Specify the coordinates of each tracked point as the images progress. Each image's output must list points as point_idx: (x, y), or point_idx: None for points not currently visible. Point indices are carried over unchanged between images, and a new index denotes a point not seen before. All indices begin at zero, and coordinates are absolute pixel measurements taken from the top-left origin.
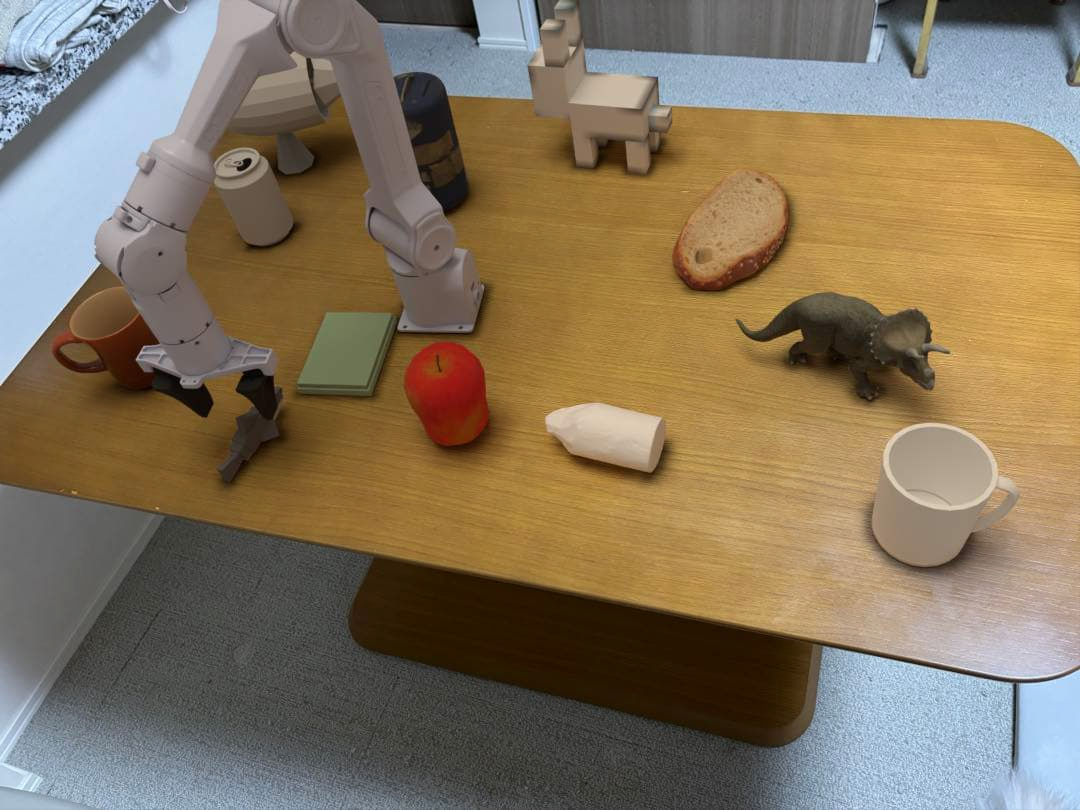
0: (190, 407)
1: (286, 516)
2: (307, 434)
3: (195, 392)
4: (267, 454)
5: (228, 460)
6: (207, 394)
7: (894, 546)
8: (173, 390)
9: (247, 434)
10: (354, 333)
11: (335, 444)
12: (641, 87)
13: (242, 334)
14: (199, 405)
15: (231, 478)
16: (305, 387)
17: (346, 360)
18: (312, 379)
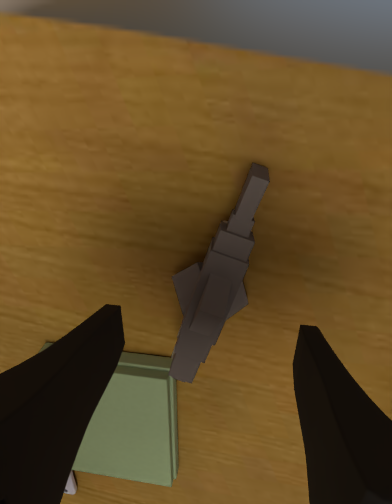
0: (333, 363)
1: (74, 66)
2: (124, 277)
3: (314, 416)
4: (189, 235)
5: (246, 209)
6: (297, 395)
7: None
8: (358, 480)
9: (207, 275)
10: (106, 449)
11: (59, 253)
12: None
13: None
14: (308, 366)
15: (249, 171)
16: (156, 369)
17: (95, 409)
18: (138, 384)
